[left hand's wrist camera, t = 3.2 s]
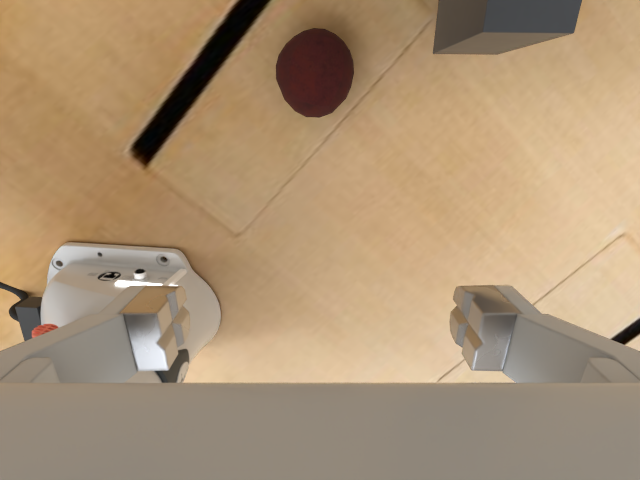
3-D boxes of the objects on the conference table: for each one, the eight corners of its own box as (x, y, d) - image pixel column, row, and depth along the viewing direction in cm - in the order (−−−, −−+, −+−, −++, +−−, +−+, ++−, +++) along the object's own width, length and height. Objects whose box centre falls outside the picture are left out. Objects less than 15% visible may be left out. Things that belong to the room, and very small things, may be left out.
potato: (358, 46, 35) (367, 32, 28) (338, 124, 37) (342, 128, 31) (288, 27, 34) (280, 7, 28) (273, 107, 37) (263, 107, 30)
